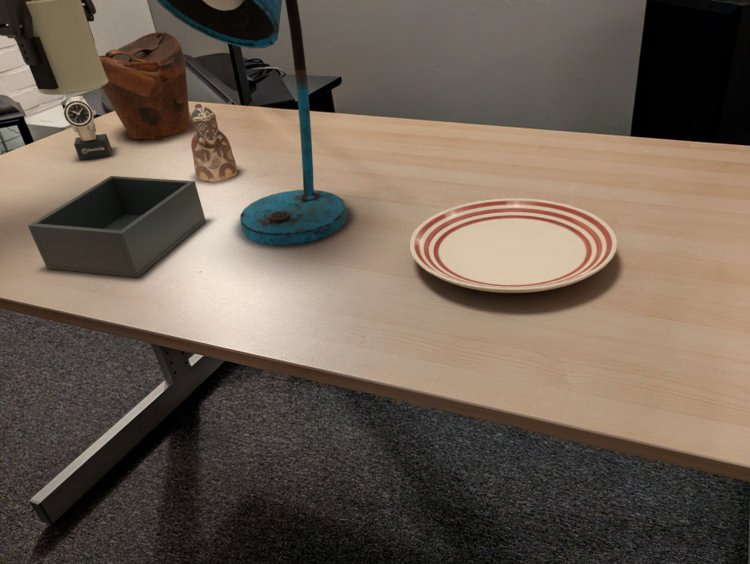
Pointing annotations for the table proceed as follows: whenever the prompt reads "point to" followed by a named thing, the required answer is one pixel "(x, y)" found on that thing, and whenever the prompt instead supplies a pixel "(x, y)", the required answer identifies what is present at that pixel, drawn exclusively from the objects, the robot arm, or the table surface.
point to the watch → (85, 130)
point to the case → (148, 86)
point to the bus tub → (119, 226)
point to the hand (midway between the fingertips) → (71, 79)
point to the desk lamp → (308, 206)
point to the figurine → (211, 148)
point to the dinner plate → (513, 245)
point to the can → (67, 45)
